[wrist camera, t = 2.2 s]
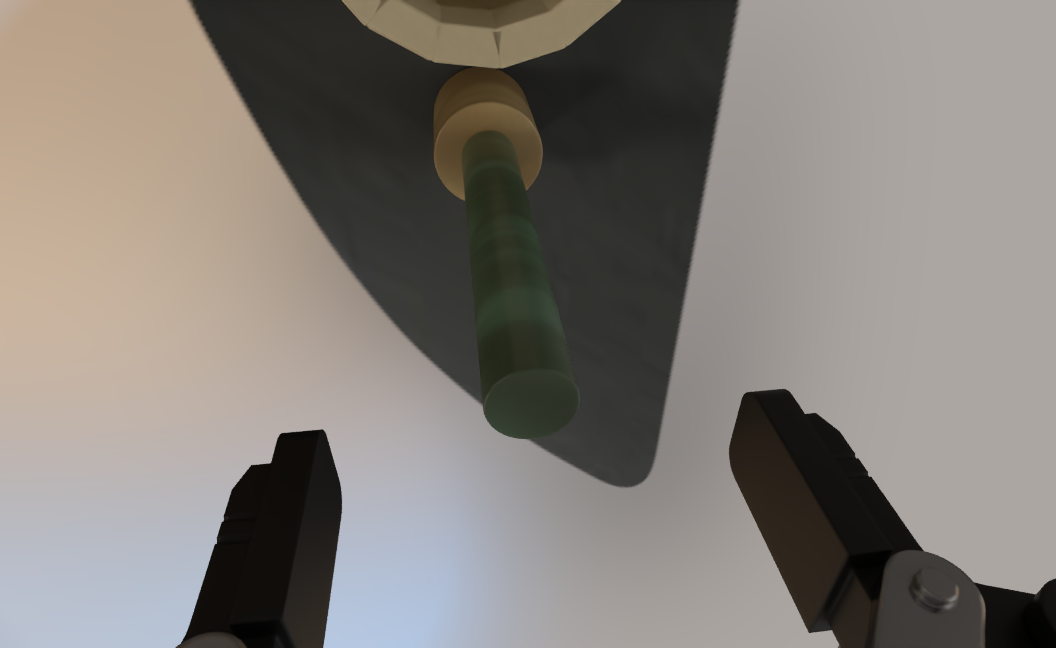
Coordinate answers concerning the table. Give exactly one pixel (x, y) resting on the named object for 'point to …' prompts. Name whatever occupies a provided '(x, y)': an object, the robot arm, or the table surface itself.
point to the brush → (505, 252)
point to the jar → (480, 27)
